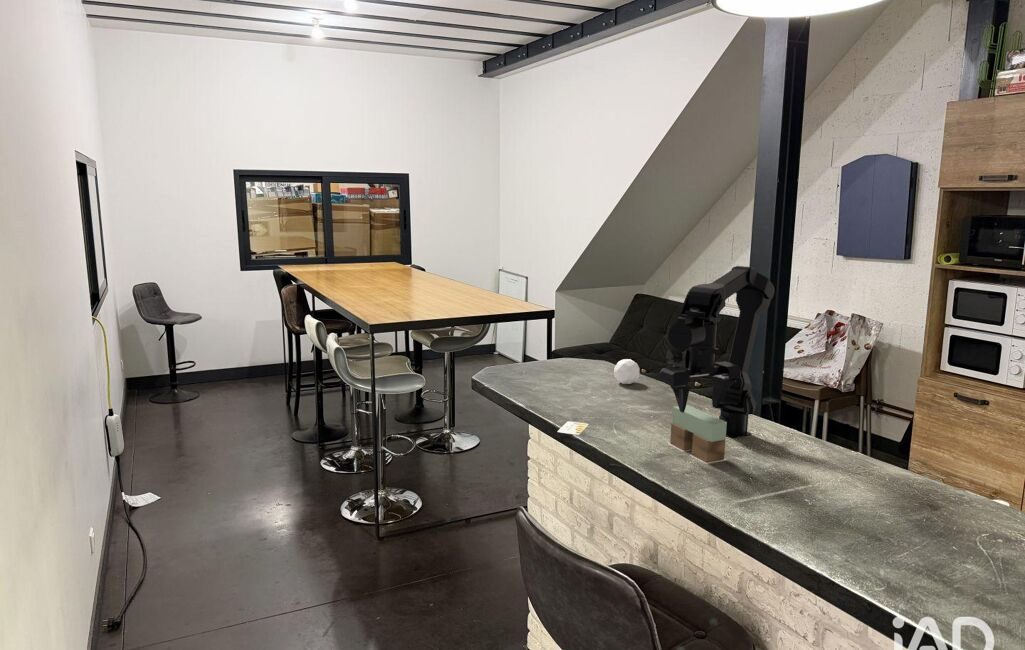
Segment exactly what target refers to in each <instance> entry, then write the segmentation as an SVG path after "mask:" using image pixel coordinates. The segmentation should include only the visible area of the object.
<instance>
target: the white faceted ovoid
mask: <svg viewBox="0 0 1025 650" xmlns="http://www.w3.org/2000/svg"><path fill="white" fill-rule="evenodd" d="M613 370H614V372H613V374H614V377H615V379H616V380H617V381H618V382H619V383H621V384H622V385H632V384H634V383H635V382H637V380H638V378H639V377H640V366H639V364H638V363H637V362H635V361H634V360H632V359H631V358H629V359H628V358H624V359H621V360H619V361H618V362H617V363H616V364H615V366H614V369H613Z"/></svg>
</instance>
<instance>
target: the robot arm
mask: <svg viewBox="0 0 1025 650" xmlns="http://www.w3.org/2000/svg"><path fill="white" fill-rule="evenodd" d="M733 295H736V296H735V302H736V305H737V307H738V311H739V314H738V318H737V319H738V320H737V323H736V329H735V333H734V338H733V342H732V347H731V351H730V355H729V358H728V359H729V360H728V361H716V355H717V354H719V353H720V348H717V331H718V323H719V322H721V320H722V318H721V316H719V315H720V313H721V311H722V310H723V309H725V307H726V300H727V299H728V298H729V297H732V296H733ZM774 295H775V286H774V284H773V282H771V280H770V278H768V277H766V276H765V275H763V274H761V273H759V272H758V271H757V270H756V268H754V267H751V266H744V265H736V266H732V267H731V270H730V271H728V272H726V273H725V274H723V275H721V276H720V277H719V278H717V279H715V280H713V281H712V282H709V283H701V284H700V283H699V284H698V285H692V287H691V288H689V291H688V292H687V294H686V296H685V298H684V300H683V303H682V306H681V307H680V311H679V313H678V315H677V316H678V317H677V318H676V320H677V321H676V323H675V324H673V325H672V326H671V327H670V328H669V330H668V332H667V338H668V343H670V345H671V346H672V347H673V349H667V350H666V356H665V360H666V364H668V365H671V364H672V366H671V367H663V368H661V370H660V372H659V381H662V382H664V384H666V385H668V386H669V387H670V388H671V389H672V392H673V394H674V397H675V399H676V403H677V406H678V407H679V410H680V412H682V413H684V411H685V408H686V405H688V404H687V403H688V398H689V394H690V388H691V385H689V383H690V381H691V379H696V378H706V377H710V380H711V382H712V395H711V404H712V405H711V406H712V408H714V409H719V410H720V413H719V414H720V415H718V416H719V417H718V419H721V420H723V421H725V422H727V426H726V437H728V438H731V439H736V438H741V437H749V436H752V435H753V434H752V433H751V432H750V431H748V425H749V423H748V422H749V415H754V414H755V411H756V408H757V407H756V406H757V402H756V400H755V398H754V395H753V393H752V387H753V385H752V383H751V380H750V377H749V374H748V373H749V367H750V363H751V359H752V355H753V349H754V344H755V340H756V335H757V331H758V326H759V321H760V318H761V316H762V315H763V314H764V313H765V312H766V311H767V310H768V309H769V307H770V305H771V301H772V299H773V298H774ZM674 348H675V349H674ZM678 350H680V351H681V350H683V351H682V352H679V351H678ZM679 367H681V368H679ZM686 369H687V370H686Z"/></svg>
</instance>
